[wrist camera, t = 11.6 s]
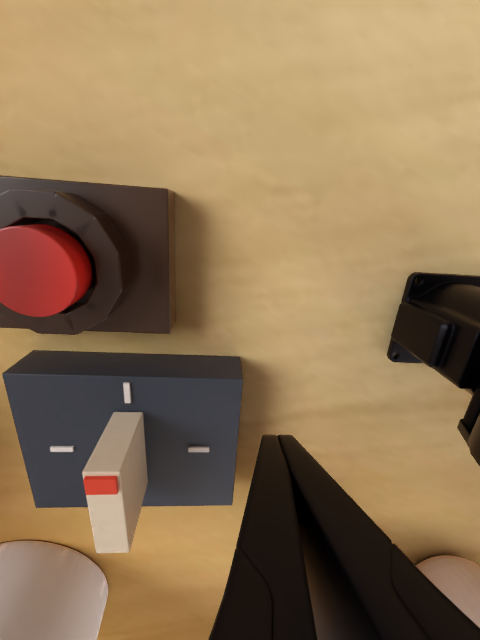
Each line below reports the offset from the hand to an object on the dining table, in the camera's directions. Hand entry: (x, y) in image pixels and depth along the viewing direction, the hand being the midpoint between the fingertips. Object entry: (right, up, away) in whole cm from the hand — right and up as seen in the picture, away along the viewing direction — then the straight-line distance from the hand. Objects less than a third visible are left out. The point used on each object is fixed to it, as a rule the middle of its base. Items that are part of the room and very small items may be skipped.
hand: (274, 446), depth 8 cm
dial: (-8, -5, +11) cm, 14 cm away
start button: (-10, +6, +6) cm, 13 cm away
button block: (-10, +7, +9) cm, 16 cm away
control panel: (-8, -4, +14) cm, 17 cm away
